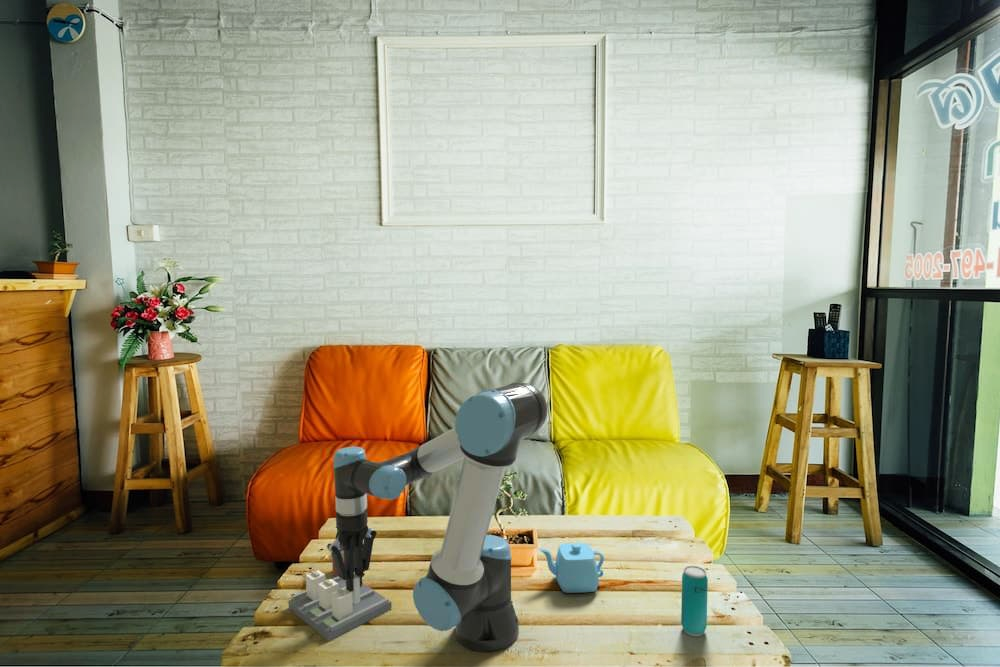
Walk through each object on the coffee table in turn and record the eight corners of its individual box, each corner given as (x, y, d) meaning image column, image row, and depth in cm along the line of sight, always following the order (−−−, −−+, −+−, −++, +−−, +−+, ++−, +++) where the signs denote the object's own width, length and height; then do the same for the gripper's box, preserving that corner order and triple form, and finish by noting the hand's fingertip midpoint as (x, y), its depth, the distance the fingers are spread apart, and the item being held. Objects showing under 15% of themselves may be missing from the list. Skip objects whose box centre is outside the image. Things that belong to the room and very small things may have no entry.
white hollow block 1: (326, 595, 149) (325, 572, 149) (313, 600, 147) (312, 577, 146) (319, 590, 152) (318, 567, 151) (306, 595, 149) (305, 572, 148)
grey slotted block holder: (391, 609, 147) (391, 598, 146) (328, 641, 134) (327, 629, 133) (349, 581, 160) (349, 571, 160) (288, 608, 147) (288, 597, 147)
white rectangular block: (339, 604, 145) (338, 581, 144) (326, 610, 142) (325, 586, 142) (331, 599, 147) (330, 576, 147) (319, 605, 145) (318, 581, 144)
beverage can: (711, 635, 134) (713, 575, 133) (690, 640, 133) (691, 579, 131) (696, 621, 140) (697, 563, 138) (676, 626, 138) (677, 567, 137)
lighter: (340, 580, 161) (339, 546, 160) (329, 579, 162) (328, 545, 161) (353, 566, 169) (352, 534, 168) (342, 565, 170) (341, 533, 169)
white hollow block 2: (352, 614, 140) (352, 590, 140) (339, 621, 138) (338, 596, 137) (345, 609, 143) (344, 585, 142) (332, 615, 140) (331, 591, 140)
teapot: (536, 574, 163) (536, 536, 162) (598, 572, 164) (598, 534, 163) (542, 598, 151) (542, 557, 150) (609, 595, 152) (609, 554, 151)
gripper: (365, 498, 148) (368, 585, 150) (319, 514, 138) (323, 606, 140) (382, 506, 142) (385, 596, 145) (335, 523, 133) (339, 618, 135)
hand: (354, 600), depth 143 cm, fingers closed
